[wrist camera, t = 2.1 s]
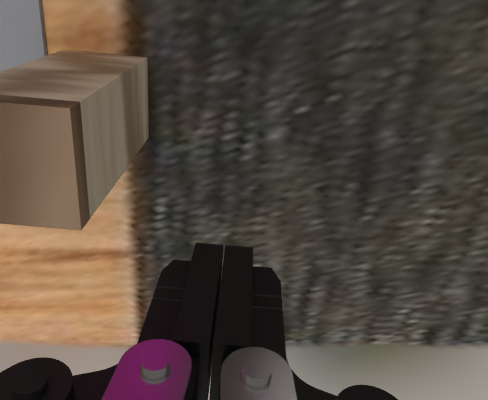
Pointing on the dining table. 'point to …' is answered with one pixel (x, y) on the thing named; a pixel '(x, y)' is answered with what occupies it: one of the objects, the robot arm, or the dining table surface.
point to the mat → (21, 32)
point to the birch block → (68, 134)
